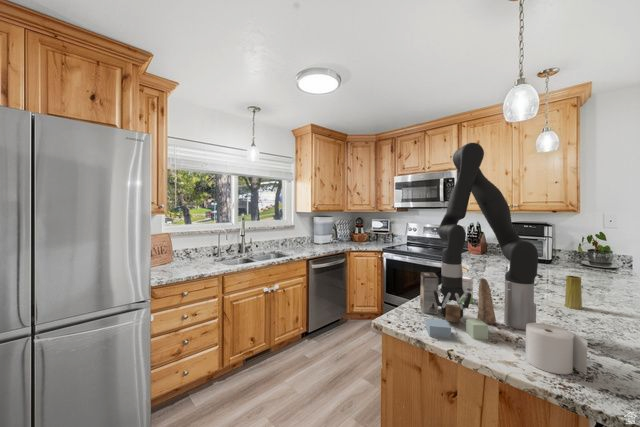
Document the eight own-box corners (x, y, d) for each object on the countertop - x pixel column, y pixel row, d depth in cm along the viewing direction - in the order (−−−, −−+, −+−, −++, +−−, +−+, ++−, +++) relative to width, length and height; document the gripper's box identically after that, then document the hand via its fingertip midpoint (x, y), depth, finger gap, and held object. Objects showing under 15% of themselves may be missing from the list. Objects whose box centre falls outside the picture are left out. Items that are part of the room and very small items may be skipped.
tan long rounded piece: (477, 319, 114) (479, 325, 108) (470, 276, 114) (472, 280, 109) (494, 319, 112) (498, 326, 106) (487, 275, 112) (490, 279, 106)
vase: (567, 308, 126) (568, 277, 126) (562, 304, 132) (562, 274, 132) (585, 310, 124) (585, 278, 124) (578, 306, 130) (578, 276, 130)
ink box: (473, 301, 135) (473, 277, 135) (469, 304, 131) (470, 279, 131) (454, 297, 141) (455, 274, 141) (451, 299, 138) (451, 276, 137)
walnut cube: (457, 317, 111) (457, 304, 111) (460, 322, 106) (460, 309, 106) (444, 316, 112) (444, 303, 112) (446, 320, 107) (446, 308, 107)
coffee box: (419, 305, 128) (420, 271, 128) (434, 307, 127) (434, 272, 127) (423, 313, 119) (423, 276, 119) (438, 314, 118) (439, 277, 118)
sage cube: (479, 333, 100) (480, 319, 100) (487, 339, 95) (488, 325, 95) (465, 332, 100) (466, 319, 100) (473, 339, 95) (473, 324, 95)
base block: (445, 330, 102) (445, 319, 102) (450, 339, 95) (451, 327, 95) (425, 328, 104) (426, 318, 104) (429, 337, 97) (429, 325, 97)
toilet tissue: (519, 352, 87) (519, 320, 86) (565, 358, 83) (566, 325, 83) (534, 371, 76) (535, 335, 76) (588, 379, 73) (589, 341, 73)
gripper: (469, 273, 110) (469, 315, 110) (431, 271, 114) (431, 312, 114) (474, 277, 103) (474, 322, 103) (433, 275, 107) (433, 319, 107)
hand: (452, 317), depth 109 cm, fingers closed on walnut cube, 5 cm apart
